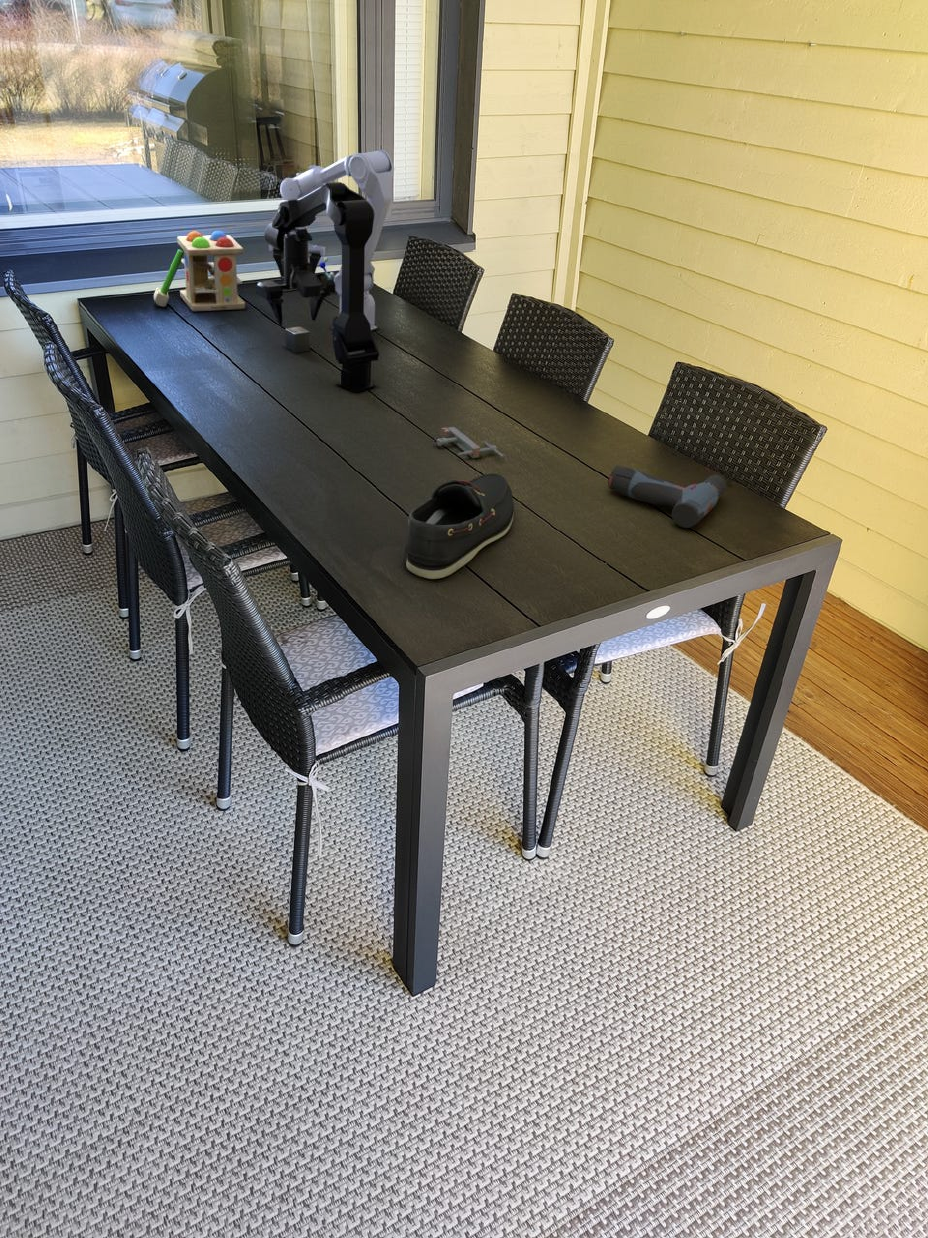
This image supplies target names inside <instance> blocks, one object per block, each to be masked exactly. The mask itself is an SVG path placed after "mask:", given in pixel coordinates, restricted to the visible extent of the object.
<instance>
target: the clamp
mask: <svg viewBox="0 0 928 1238" xmlns="http://www.w3.org/2000/svg"><path fill="white" fill-rule="evenodd" d="M452 443H453V444H454V445H456V446H457V447H458V448H459V449H460V450H462V451H463V452H458V453H457V456H458V457H460V456H469V457H470V458H472V459H477V458H480V454H482V453H487V452H488V453H496V454H497V455H498V456H499V457H500V459H502V460H504V459H506V457H507V456H506V454H504V453H501V452H500V451H499V450H498V447H497V446H496V445H495V444H494V445H491V444H490V443H489V442H488V441H486V440H485V441H484V442H483V446H484V447H483V448H481V447H480V446H479V444H476V443H475V442H474V441H473V440H471V439H470V438H469V437H468V436H466V435H465V434H464V433H463V432H461V431H460V430H459V429H457V428H456V427H455V426H450V427H441V429H440V437H439V438H436V444H437V445H438V446H439V447H441V446H448V445H449V444H452Z"/></svg>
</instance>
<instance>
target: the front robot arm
mask: <svg viewBox="0 0 928 1238" xmlns="http://www.w3.org/2000/svg"><path fill="white" fill-rule="evenodd" d="M325 211H326V215H327V217H329V219H330V220H331V221H332V222H333V230H334V233H335V234H336V236H337V238H338V240H339V242H340V243H341V266H342V310H341V313H340V315H337V316H334V317H333V318H332V327H333V329H332V333H331V335H332V344H333V345H332V346H333V352H334V357H335V360H336V361H337V364H339V365H341V368H340V381H338V382H337V383H336V385H337V386H339V387H341V388H343V389H346V390H348V391H350V392H352V393H355V394H357V393H358V394H359V393H361V392H363V391H367V390H371V389H373V388H376V384H375V383H373V382H371V381H372V380H371V379H372V377H371V376H372V362H376V361H378V360H379V357H380V351H379V349H378V346H377V343H376V341H375V339H374V336H373V334H372V330H371V325H370V323H369V321H368V319H367V318H366V316H365V314H364V270H365V245H366V243H367V241H368V240H369V238H370V236H371V234H372V232H373V223H374V216H375V214H374V209H373V207H372V206H371V205H370V204H369V203H368V201H367V198H365V196H363V195H361V194H360V193H358V192H356V191H354V190H352V189H350V188H349V187H348V186H347V185H346V183H343V182H341V181H338V182H337V181H336V182H335V181H333V182H330V183H325V184H323V185H322V186H321V187H320V188H318V189H316V190H315V191H313V192H311V193H309V194H308V195H306V196H304V197H302V198H301V199H294V200H286V201H285V200H282V201H280V202H279V204H278V208H277V209H276V212H275V215H274V216H272V217H271V222H270V223H269V224H267V226H266V228H265V230H264V233H263V234H264V236H263V237H264V239H265V242H266V243H267V244H268V246H269V245H271V246H273V247H275V248H277V249H279V250H281V251H284V259H281V263H282V264H283V265H284V277H282V280H281V282H282V283H277V282H275V281H273V280H265V281H259V282H258V283H257V284H256V287H255V288H256V294H257V295H258V296H260V297H262V298H263V299H264V300H266V301H267V303H268V304H269V306H270V308H271V311H272V313H273V314H274V317H275V319H276V322H277V324H278V325H279V326H283V306H282V305H283V304H284V302H285V301H284V299H283V298H282V297H283V295H284V294H285V293H292V292H299V294H300V296H301V297H303V298H305V299H308V298H309V307H310V309H309V310H310V317H311V321H313V322H315V321H316V320H317V317H318V315H319V311H320V308H321V306H322V304H323V302H324V300H325V299H326V298H328V297H330V296H331V294H332V293H336V284H335V281H334V278H329V277H328V276H327V275H326V273H325V272H319V273H316V272H315V274H313V271H312V266H311V263H310V261H309V254H308V244H309V242H311V241H313V237H312V234H310V233H309V230H308V231H307V229H300V230H299V229H296V228H299V227H305V226H308V227H310V226H311V225H312V224H313V223H314V222H315V221H316V219H317V217H316V216H317V215H318V214H320V213H322V212H325ZM360 351H363V352H360Z"/></svg>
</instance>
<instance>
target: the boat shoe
mask: <svg viewBox="0 0 928 1238" xmlns="http://www.w3.org/2000/svg"><path fill="white" fill-rule="evenodd" d="M514 513H515V503H514V497H513V491H512V488H511V486H510V484H509V482H508V480H507V479H506V478H505V477H504V476H503V475H501V474H500V473H495V472H494V473H490V472H489V473H485V474H481V475H479V476H477V477H474V478H472V479H470V480H468V481H467V480H463V479H451V480H448V481H446V482H444V483H442V484H440V485H439V486H437V487H436V488H435V489H434V491H433V492H432V494H431V495H430V497H429V499H427V500H425V501H423V502H422V503H421V504H419V505H417V506H416V507H414V508H413V509H412V510H411V511H410V512H409V515H407V518H406V523H407V524H408V533H407V537H406V544H405V546H404V548H403V549H404V553H406V554H407V555H406V561H405V562H406V564H405V565H406V569H407V570H408V571H409V572H410V573H412V574H414V575H416V576H417V577H421V578H424V579H430V580H436V579H442V578H445V577H448V576H450V575H452V574H453V573H455V572H456V571H458V570H459V569H460V568H462V567H464V566H465V565H467V563H469V562H470V561H472V559H474V557H475V556H476V555H477V554H478V553H479V551H480V550H482V549H483V548H485V546H487V545H489V544H491V543H492V542H493V543H494V541H497V540H499V539H500V538H502V537H504V536H505V535H506V534H507V533H508V532H509V530H510V529H511V527H512V525H513V521H514V515H515V514H514Z"/></svg>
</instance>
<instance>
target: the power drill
mask: <svg viewBox="0 0 928 1238" xmlns="http://www.w3.org/2000/svg"><path fill="white" fill-rule="evenodd" d="M607 486H608V489H609V490H611V491H614V492H616V493H618V494H620V495H622V496H624V497H628V498H631V499H634V500H635V501H640V502H643V503H647V504H651V505H656V506H668V507H672V511H671V518H672V520H673V521H674V523H675V524H676V525H678V526H679V527H681V528H684V529H690V528H692V527H694V526H696V525H697V524H698V523H700V522H701V520H702V519H703V518H704V517H705V516H706V515H707V514H708V513H709V512H710V511H711V510H712V509H713V508H714V507H715V506H716V505H717V503H718V501H719V499H720V497H721V496H722V495H723V494H724V493H725V491H726V490H727V482H726V480H725V478H724V477H722V475H719V474H712V475H710V476H709V477H707V478H706V479H705V480H704V481H701V482H699V483H694V484H689V485H688V486H687V487H682V486H680V485H678V484H673V483H670V482H668V481H666V480H664V479H662V478H659V477H657V476H655V475H653V474H651V473H648V472H644V471H641V470H638V469H635V468H632V467H631V468H630V467H629V466H627V467H626V466H622V465H616V466H614V467H613V469H612V470H611V471H610V474H609V476H608V480H607Z"/></svg>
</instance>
